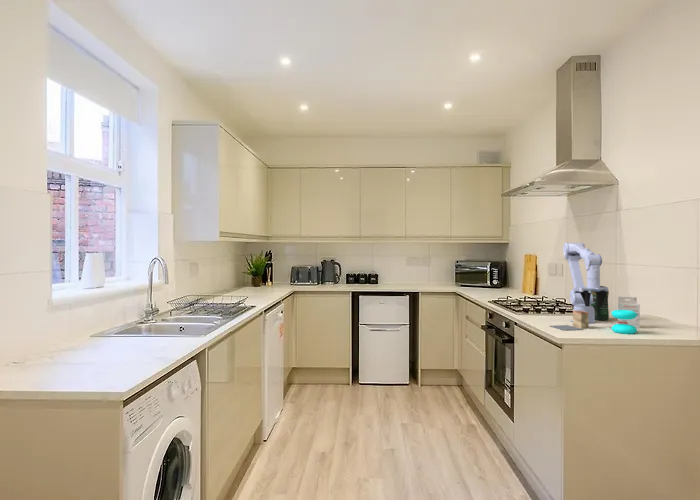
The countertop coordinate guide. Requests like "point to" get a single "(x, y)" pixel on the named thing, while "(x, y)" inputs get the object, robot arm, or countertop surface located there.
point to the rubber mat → (566, 327)
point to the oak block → (581, 319)
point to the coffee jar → (600, 307)
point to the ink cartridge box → (629, 306)
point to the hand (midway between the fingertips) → (593, 306)
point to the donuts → (624, 327)
